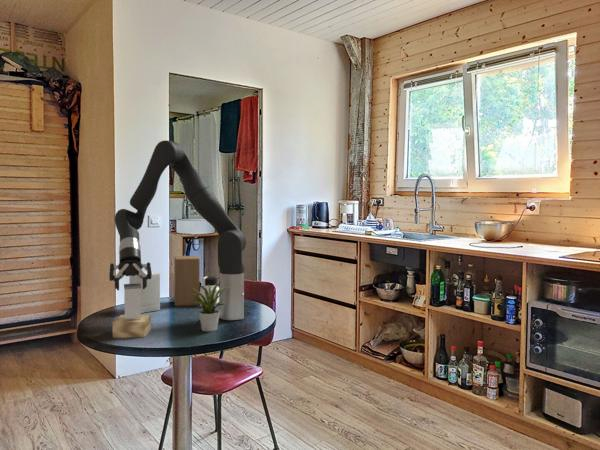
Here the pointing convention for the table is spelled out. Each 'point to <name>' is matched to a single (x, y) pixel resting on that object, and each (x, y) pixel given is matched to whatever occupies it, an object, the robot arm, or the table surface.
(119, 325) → the oak stand
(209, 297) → the house plant
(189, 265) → the wooden block
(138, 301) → the tea tin
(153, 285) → the supplement box
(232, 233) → the robot arm
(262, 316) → the table surface
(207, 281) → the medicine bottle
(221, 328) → the table surface
